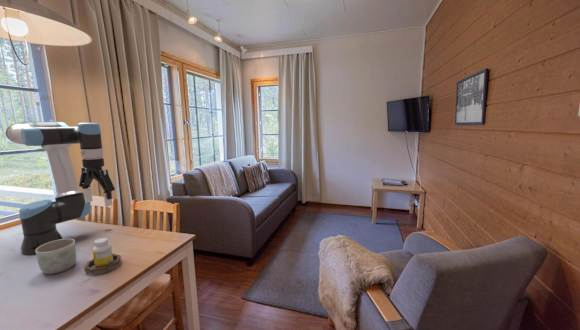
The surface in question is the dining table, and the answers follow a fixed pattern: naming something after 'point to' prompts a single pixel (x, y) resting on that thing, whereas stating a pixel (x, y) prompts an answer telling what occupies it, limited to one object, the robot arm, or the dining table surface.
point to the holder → (92, 270)
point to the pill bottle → (102, 253)
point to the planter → (56, 255)
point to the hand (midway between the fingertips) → (98, 203)
